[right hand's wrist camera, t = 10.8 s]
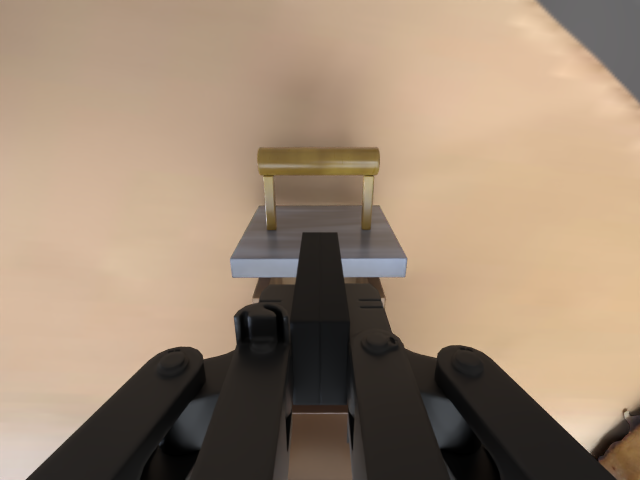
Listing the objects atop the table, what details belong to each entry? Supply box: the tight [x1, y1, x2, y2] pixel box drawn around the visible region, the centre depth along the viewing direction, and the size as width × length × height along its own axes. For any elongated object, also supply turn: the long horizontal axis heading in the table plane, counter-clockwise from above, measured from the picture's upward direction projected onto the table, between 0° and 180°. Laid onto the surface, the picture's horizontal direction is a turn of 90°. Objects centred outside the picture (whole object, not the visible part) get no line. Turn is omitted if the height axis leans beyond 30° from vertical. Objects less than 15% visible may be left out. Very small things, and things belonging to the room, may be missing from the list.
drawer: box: [230, 147, 407, 309], centre depth 25 cm, size 23×10×10 cm, turn 0°
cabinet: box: [288, 400, 352, 480], centre depth 31 cm, size 19×11×12 cm, turn 0°
